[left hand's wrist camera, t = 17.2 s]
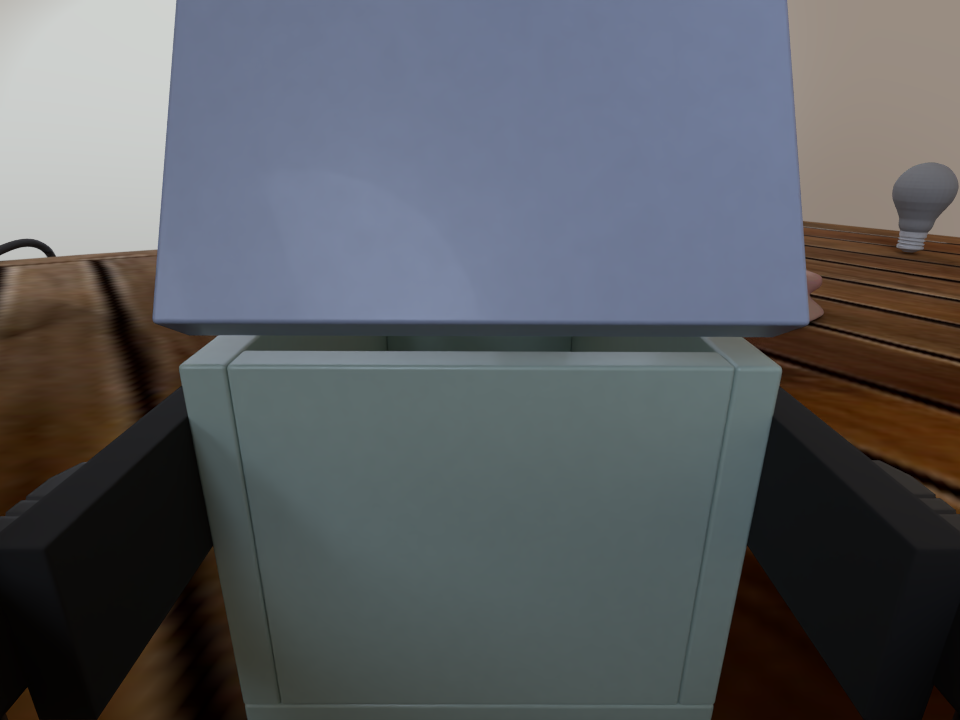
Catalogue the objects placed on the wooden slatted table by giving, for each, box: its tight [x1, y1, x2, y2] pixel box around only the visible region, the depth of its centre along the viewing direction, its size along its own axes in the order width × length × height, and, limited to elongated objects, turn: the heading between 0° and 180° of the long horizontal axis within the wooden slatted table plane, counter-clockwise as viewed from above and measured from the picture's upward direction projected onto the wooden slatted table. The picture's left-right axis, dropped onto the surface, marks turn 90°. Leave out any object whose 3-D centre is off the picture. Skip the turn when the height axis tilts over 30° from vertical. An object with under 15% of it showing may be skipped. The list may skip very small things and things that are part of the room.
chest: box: [179, 335, 782, 720], centre depth 19 cm, size 17×10×9 cm, turn 0°
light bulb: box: [892, 163, 958, 252], centre depth 68 cm, size 6×6×10 cm
